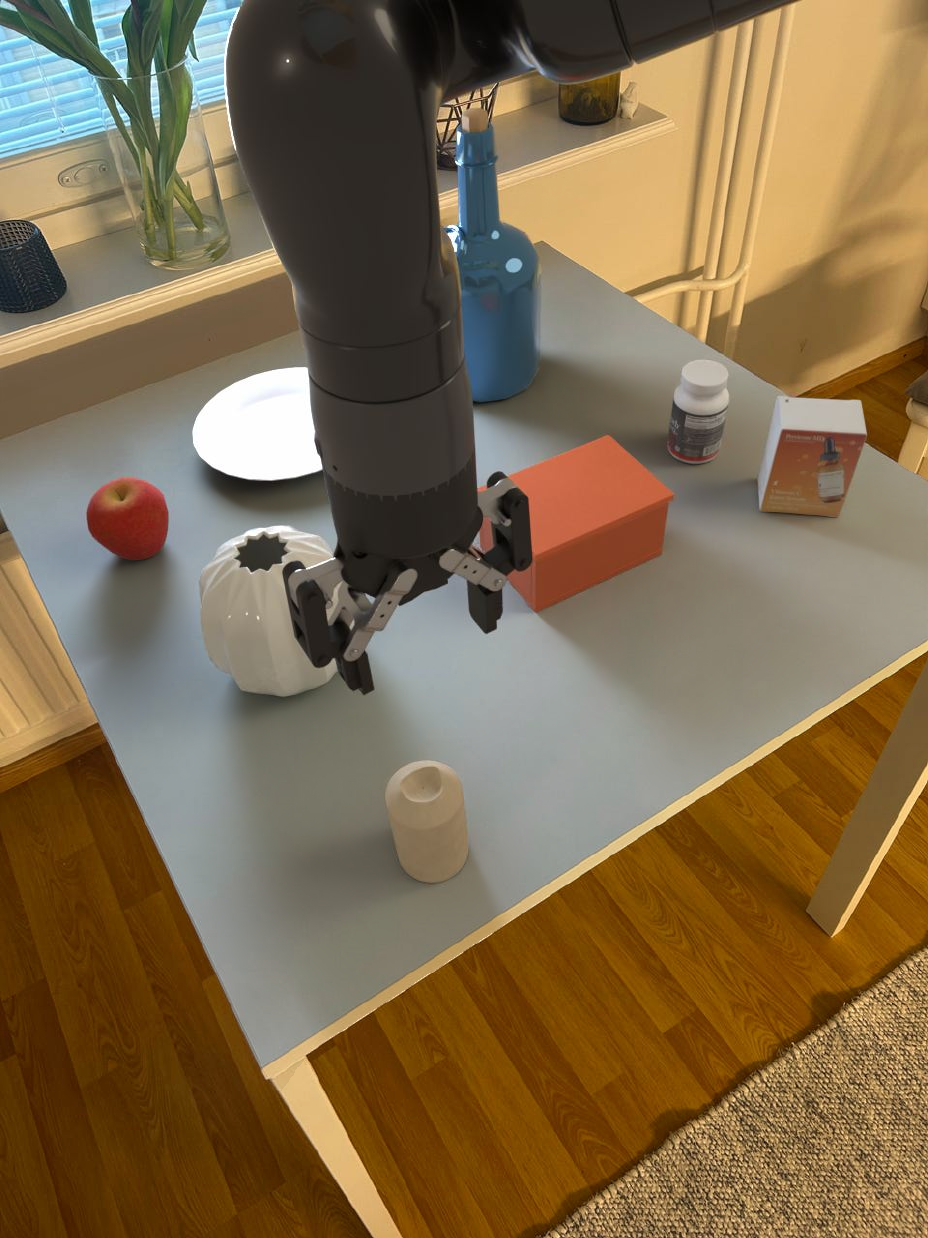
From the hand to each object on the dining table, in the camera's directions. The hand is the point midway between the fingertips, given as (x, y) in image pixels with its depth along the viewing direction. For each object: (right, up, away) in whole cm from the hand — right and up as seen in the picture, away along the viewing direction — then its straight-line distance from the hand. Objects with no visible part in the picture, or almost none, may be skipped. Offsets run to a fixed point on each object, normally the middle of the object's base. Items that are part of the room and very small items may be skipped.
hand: (424, 652), depth 57 cm
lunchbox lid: (+13, +13, +31) cm, 36 cm away
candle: (0, -16, +15) cm, 22 cm away
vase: (-13, -1, +29) cm, 32 cm away
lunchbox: (+13, +9, +36) cm, 39 cm away
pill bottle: (+28, +21, +45) cm, 57 cm away
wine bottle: (+5, +32, +57) cm, 65 cm away
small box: (+37, +14, +39) cm, 56 cm away
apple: (-31, +9, +40) cm, 51 cm away
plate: (-18, +23, +51) cm, 59 cm away
